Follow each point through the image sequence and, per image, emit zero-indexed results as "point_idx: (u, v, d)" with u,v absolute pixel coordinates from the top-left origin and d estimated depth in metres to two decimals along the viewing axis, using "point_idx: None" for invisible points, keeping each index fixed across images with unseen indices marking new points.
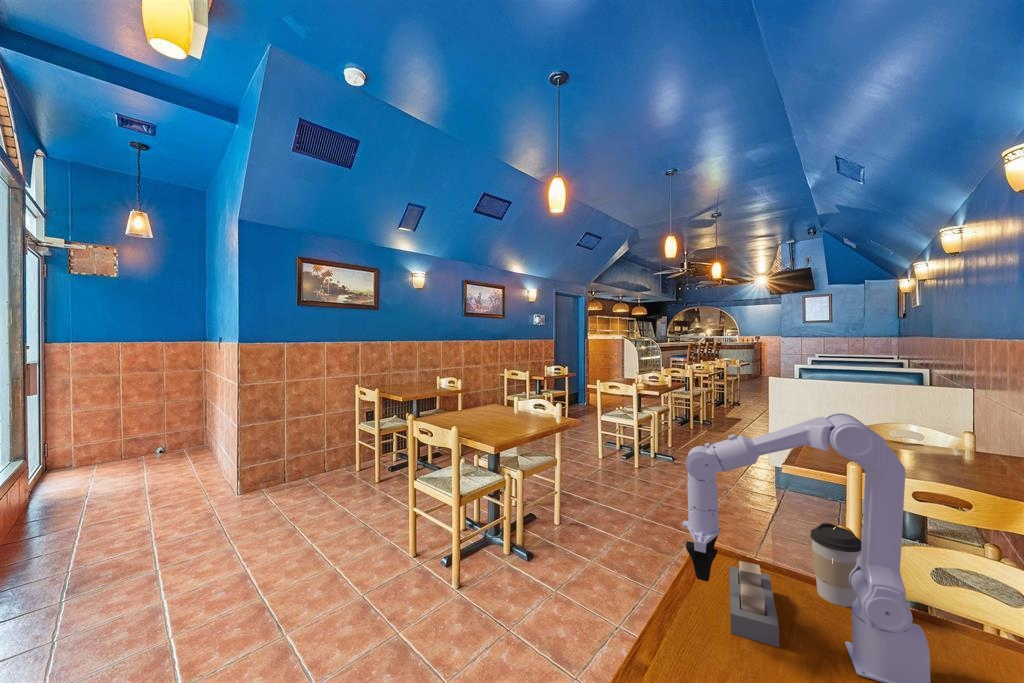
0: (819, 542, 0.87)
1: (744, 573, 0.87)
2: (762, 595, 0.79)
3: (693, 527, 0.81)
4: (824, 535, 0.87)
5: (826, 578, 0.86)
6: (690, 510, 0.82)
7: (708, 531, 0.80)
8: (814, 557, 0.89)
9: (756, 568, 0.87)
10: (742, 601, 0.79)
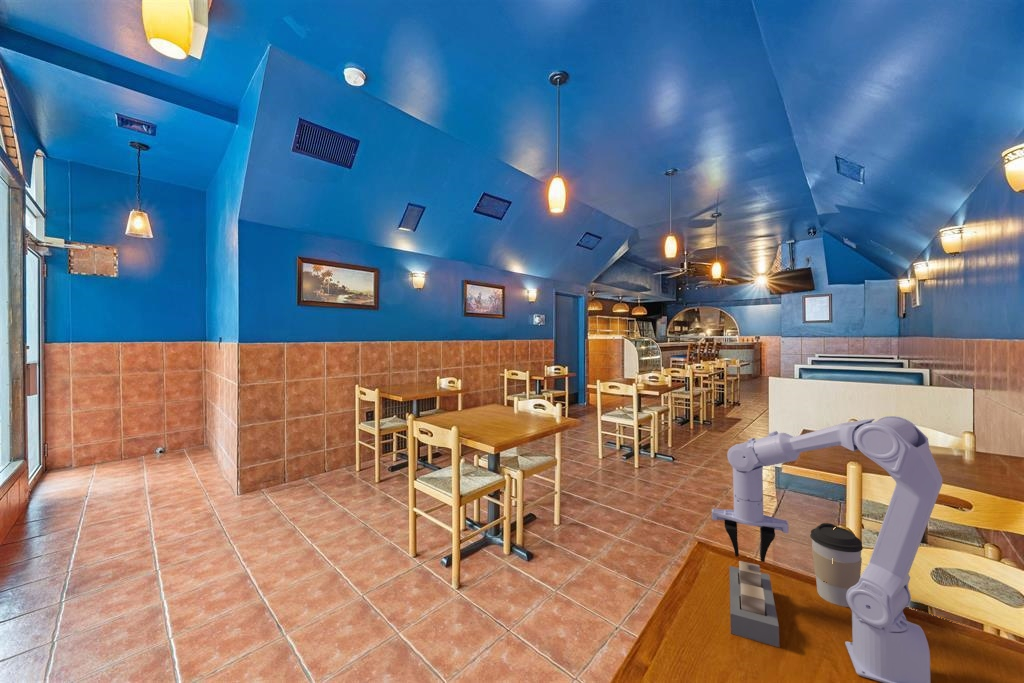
0: (819, 542, 0.87)
1: (744, 573, 0.87)
2: (762, 595, 0.79)
3: None
4: (824, 535, 0.87)
5: (826, 578, 0.86)
6: None
7: (735, 514, 0.88)
8: (814, 557, 0.89)
9: (756, 568, 0.87)
10: (742, 601, 0.79)
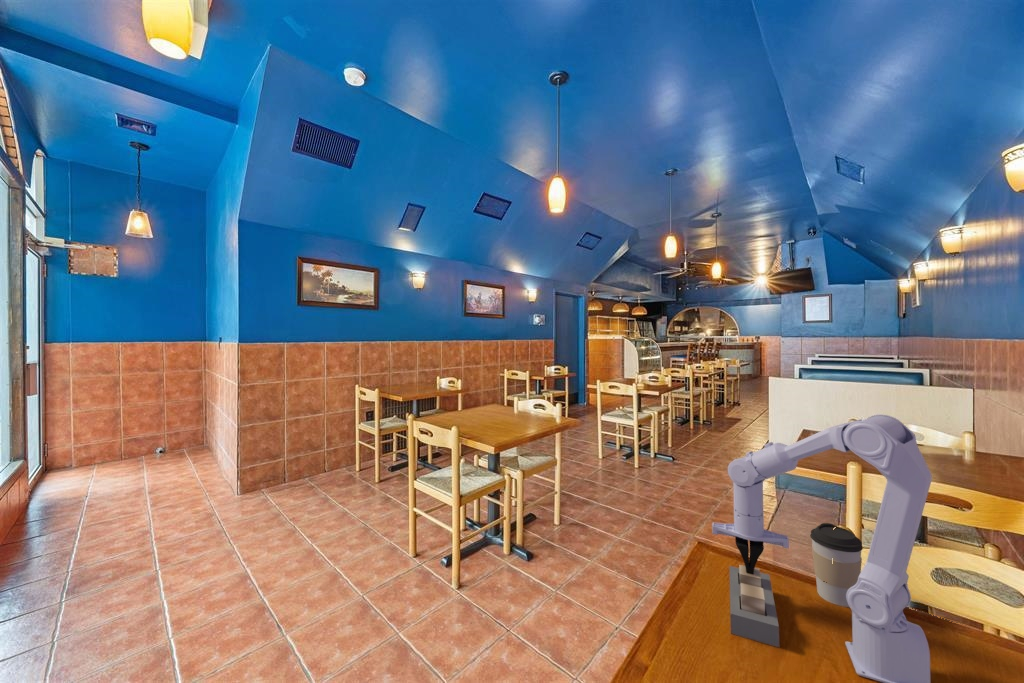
0: (819, 542, 0.87)
1: (744, 577, 0.87)
2: (762, 595, 0.79)
3: None
4: (824, 535, 0.87)
5: (826, 578, 0.86)
6: None
7: (735, 528, 0.88)
8: (814, 557, 0.89)
9: (756, 572, 0.87)
10: (742, 601, 0.79)
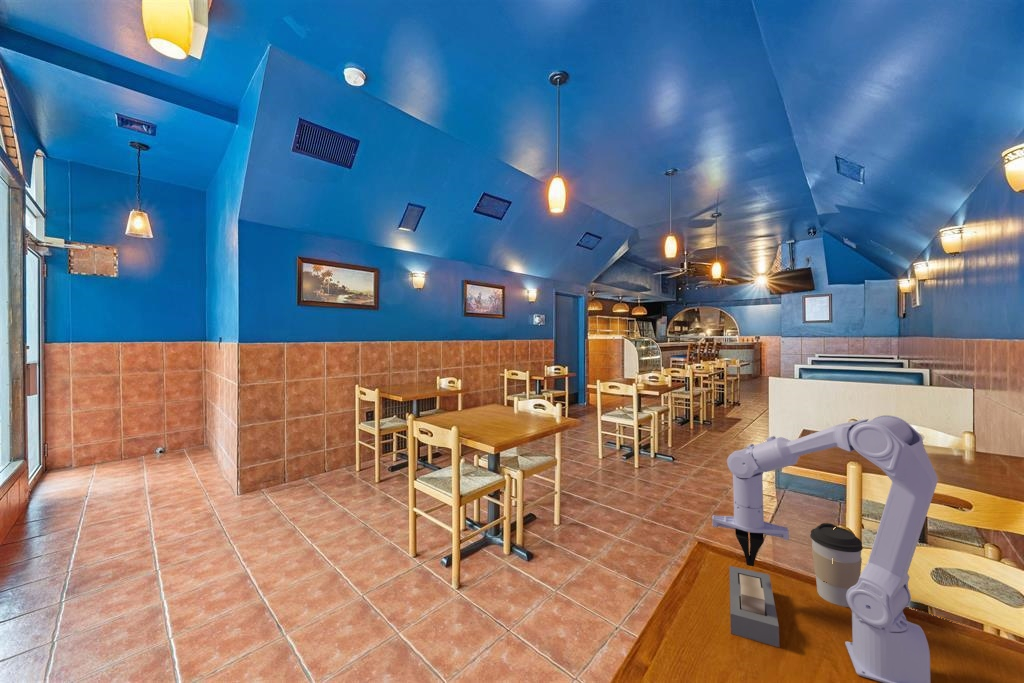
0: (819, 542, 0.87)
1: None
2: (762, 595, 0.79)
3: None
4: (824, 535, 0.87)
5: (826, 578, 0.86)
6: None
7: (735, 521, 0.88)
8: (814, 557, 0.89)
9: (756, 582, 0.87)
10: (742, 601, 0.79)
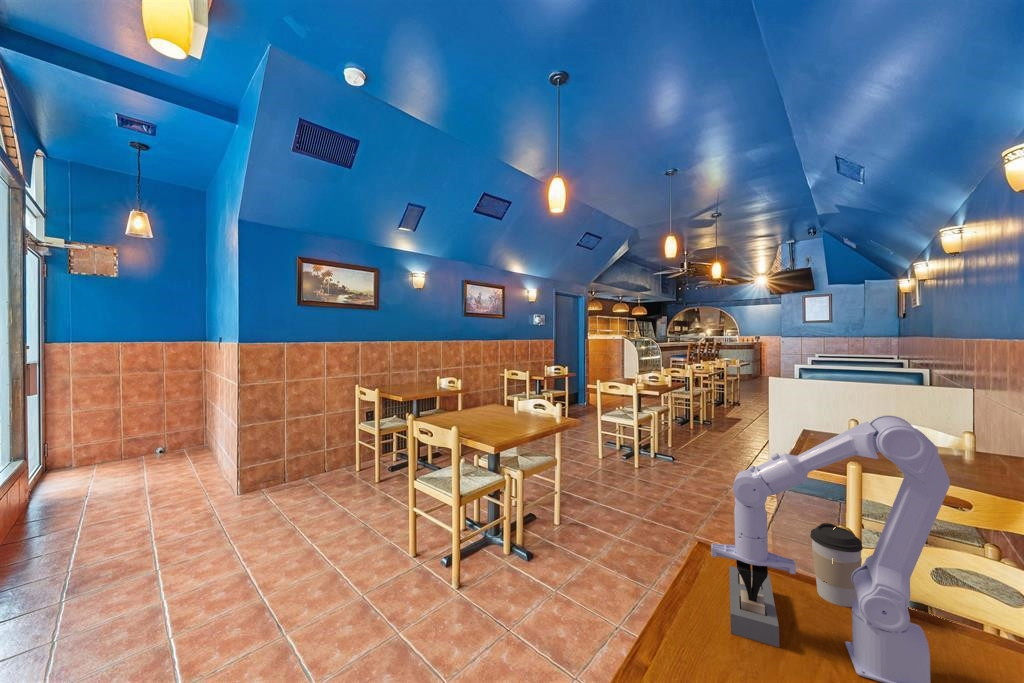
0: (819, 542, 0.87)
1: None
2: (762, 602, 0.79)
3: None
4: (824, 535, 0.87)
5: (826, 578, 0.86)
6: None
7: (736, 551, 0.80)
8: (814, 557, 0.89)
9: None
10: (742, 608, 0.79)
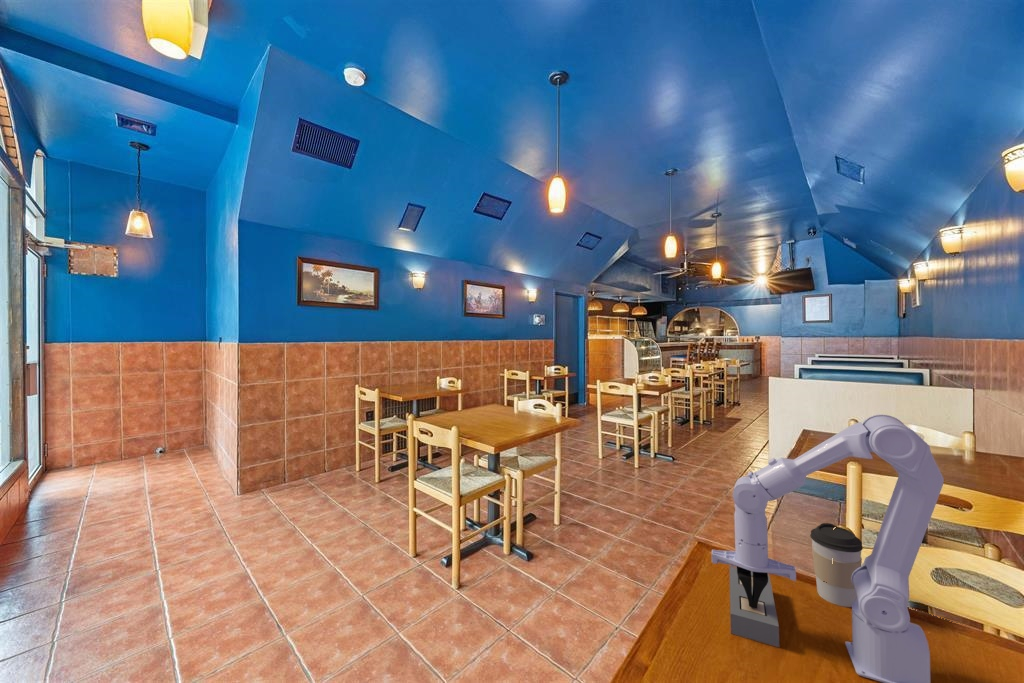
0: (819, 542, 0.87)
1: None
2: (762, 610, 0.79)
3: None
4: (824, 535, 0.87)
5: (826, 578, 0.86)
6: None
7: (737, 557, 0.80)
8: (814, 557, 0.89)
9: None
10: None
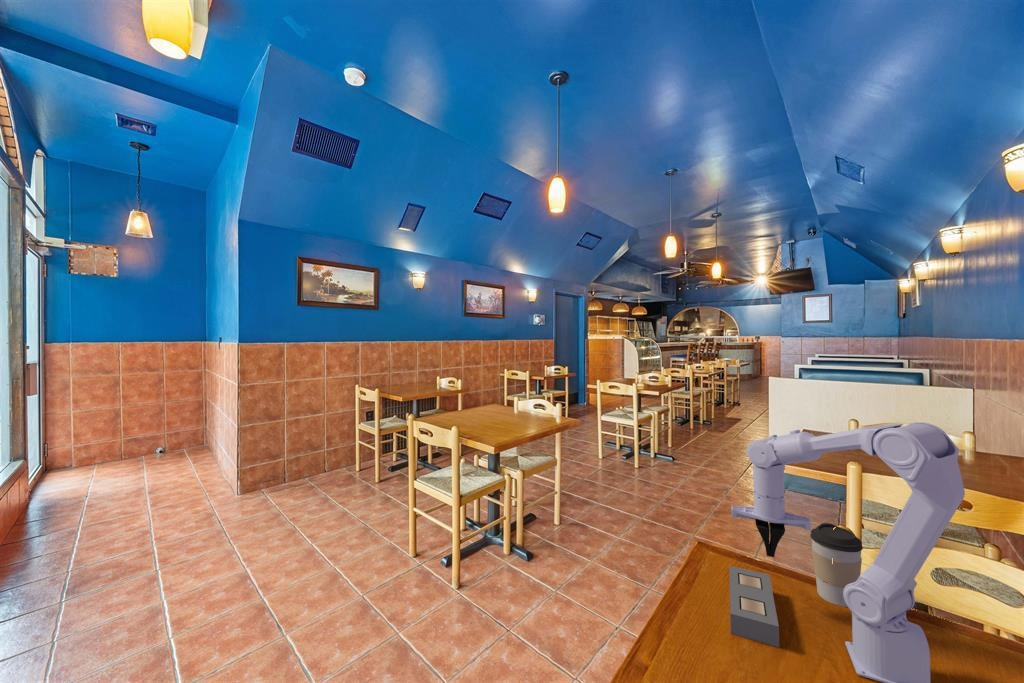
0: (819, 542, 0.87)
1: None
2: (762, 610, 0.79)
3: None
4: (824, 535, 0.87)
5: (826, 578, 0.86)
6: None
7: (755, 511, 0.87)
8: (814, 557, 0.89)
9: (756, 582, 0.87)
10: None
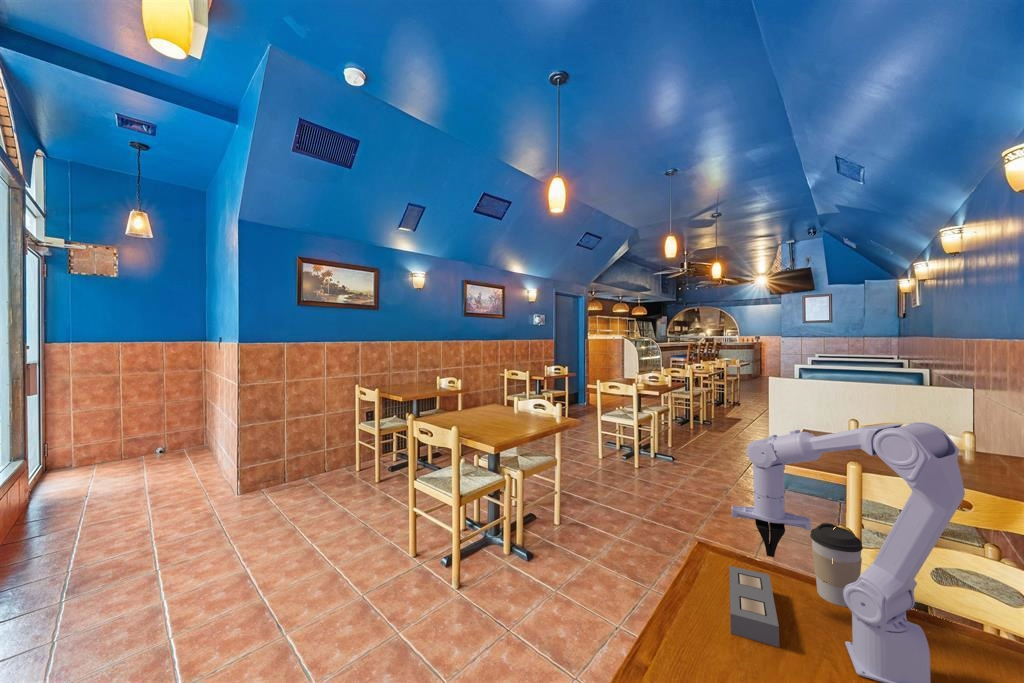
0: (819, 542, 0.87)
1: None
2: (762, 610, 0.79)
3: None
4: (824, 535, 0.87)
5: (826, 578, 0.86)
6: None
7: (755, 511, 0.87)
8: (814, 557, 0.89)
9: (756, 582, 0.87)
10: None
